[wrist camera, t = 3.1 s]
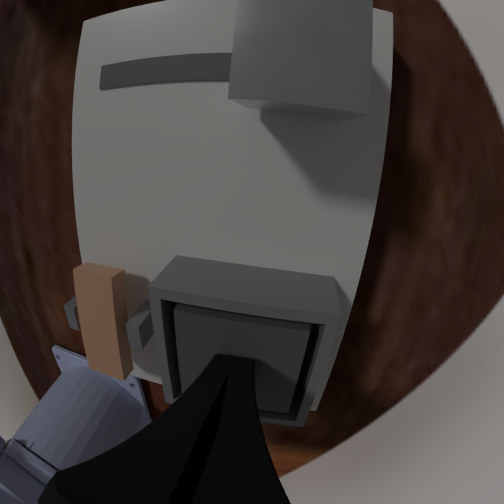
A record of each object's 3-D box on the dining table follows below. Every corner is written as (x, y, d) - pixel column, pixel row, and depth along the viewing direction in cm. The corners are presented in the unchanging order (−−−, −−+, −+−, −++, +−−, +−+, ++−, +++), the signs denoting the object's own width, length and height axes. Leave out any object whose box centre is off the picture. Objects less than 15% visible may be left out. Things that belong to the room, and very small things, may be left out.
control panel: (315, 384, 16) (315, 449, 11) (122, 347, 17) (87, 395, 13) (379, 29, 8) (416, -15, 4) (108, 30, 10) (45, 9, 6)
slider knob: (345, 120, 8) (368, 115, 5) (249, 108, 8) (227, 98, 6) (351, 34, 7) (372, -2, 4) (257, 24, 7) (239, -16, 5)
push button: (290, 379, 12) (288, 412, 11) (195, 363, 13) (182, 394, 11) (309, 298, 11) (309, 331, 9) (192, 281, 11) (173, 309, 9)
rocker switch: (133, 368, 12) (124, 380, 11) (99, 357, 13) (89, 368, 12) (124, 269, 11) (111, 277, 10) (86, 262, 11) (72, 269, 10)
